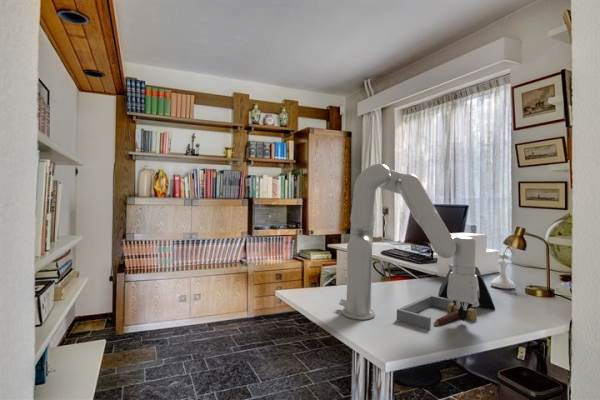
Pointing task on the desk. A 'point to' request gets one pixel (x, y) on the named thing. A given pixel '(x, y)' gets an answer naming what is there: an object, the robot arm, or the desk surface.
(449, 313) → the gavel
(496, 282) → the flower in vase
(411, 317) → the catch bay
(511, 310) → the desk surface
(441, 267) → the white stepped block
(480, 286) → the device stand
